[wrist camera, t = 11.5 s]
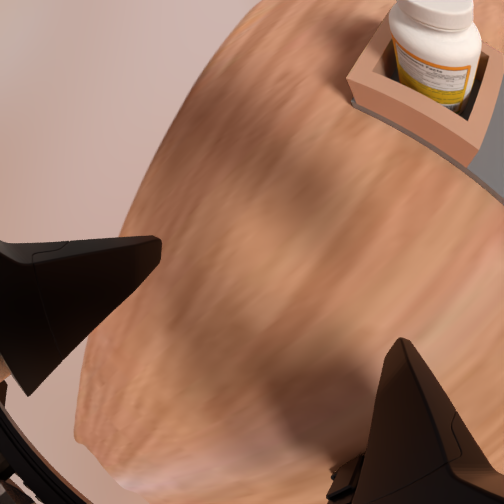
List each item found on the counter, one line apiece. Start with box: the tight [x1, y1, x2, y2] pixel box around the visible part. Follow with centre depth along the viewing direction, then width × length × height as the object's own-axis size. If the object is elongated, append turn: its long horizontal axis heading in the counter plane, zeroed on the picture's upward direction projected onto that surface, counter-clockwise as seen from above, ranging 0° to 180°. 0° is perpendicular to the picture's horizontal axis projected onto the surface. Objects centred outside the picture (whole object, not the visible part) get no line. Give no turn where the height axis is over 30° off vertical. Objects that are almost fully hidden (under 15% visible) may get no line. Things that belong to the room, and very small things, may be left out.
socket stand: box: [346, 3, 504, 205], centre depth 11 cm, size 14×12×4 cm
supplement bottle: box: [389, 0, 482, 115], centre depth 9 cm, size 5×5×10 cm
